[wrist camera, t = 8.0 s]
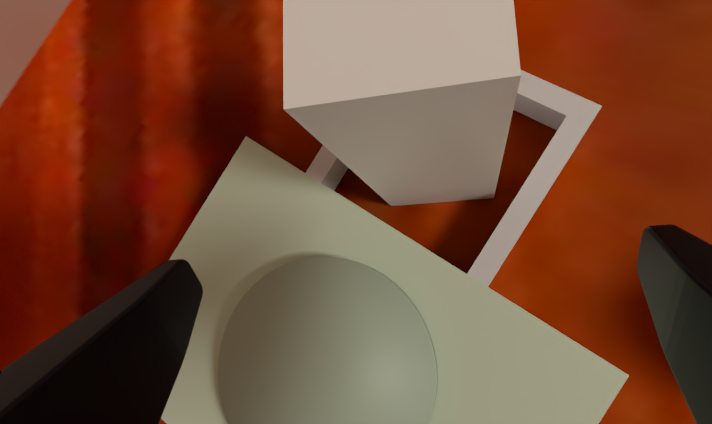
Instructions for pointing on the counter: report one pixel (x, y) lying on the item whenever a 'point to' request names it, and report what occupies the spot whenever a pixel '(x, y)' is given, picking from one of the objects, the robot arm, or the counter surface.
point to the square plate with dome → (372, 306)
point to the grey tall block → (406, 90)
